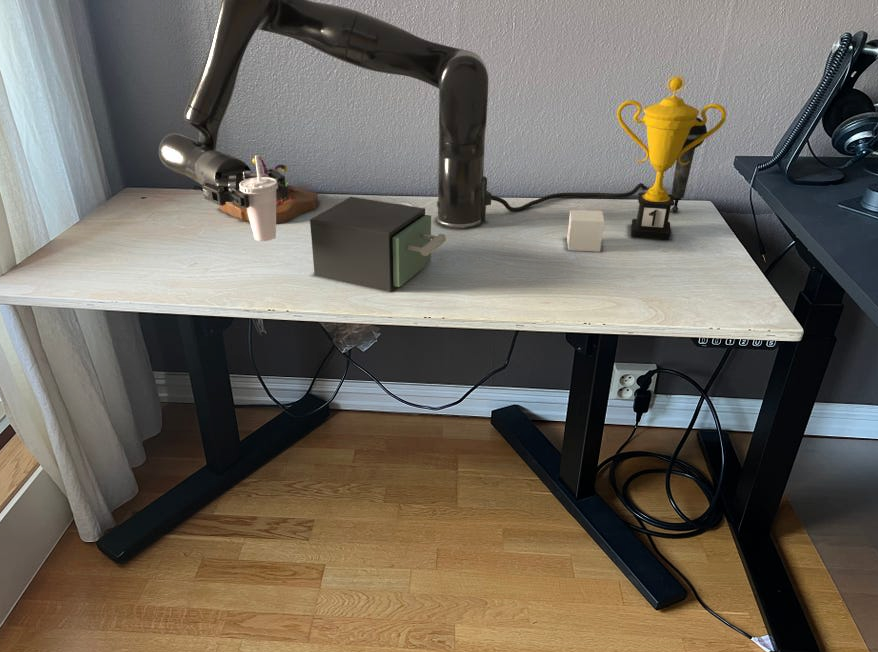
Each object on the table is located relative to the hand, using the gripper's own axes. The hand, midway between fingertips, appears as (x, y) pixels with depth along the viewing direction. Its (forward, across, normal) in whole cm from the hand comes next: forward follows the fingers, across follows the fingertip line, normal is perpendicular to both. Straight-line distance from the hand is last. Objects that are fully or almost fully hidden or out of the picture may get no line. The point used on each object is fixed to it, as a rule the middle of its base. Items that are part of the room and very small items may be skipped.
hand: (266, 197), depth 119 cm
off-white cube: (+23, +55, +16) cm, 62 cm away
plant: (-37, +18, +16) cm, 44 cm away
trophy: (+27, +71, +16) cm, 77 cm away
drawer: (+10, +18, +15) cm, 25 cm away
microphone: (+23, +85, +16) cm, 90 cm away
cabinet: (+6, +16, +16) cm, 23 cm away
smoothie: (-2, 0, +8) cm, 8 cm away
